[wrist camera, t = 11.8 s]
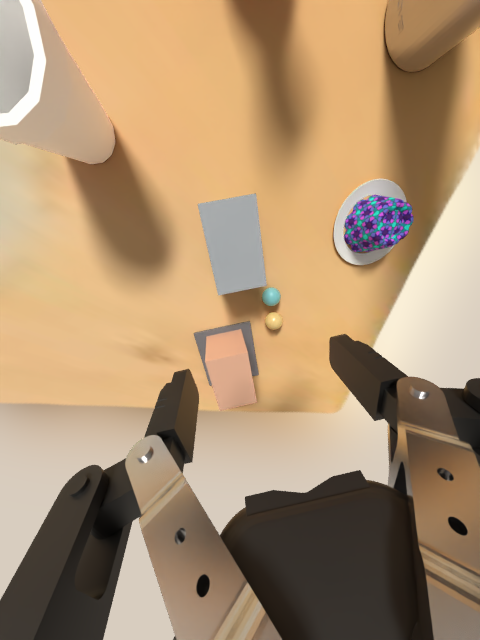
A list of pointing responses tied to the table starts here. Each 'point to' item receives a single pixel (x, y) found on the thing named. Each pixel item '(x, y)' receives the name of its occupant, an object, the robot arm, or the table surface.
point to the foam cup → (47, 89)
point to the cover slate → (234, 243)
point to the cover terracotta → (229, 369)
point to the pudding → (372, 221)
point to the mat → (244, 327)
